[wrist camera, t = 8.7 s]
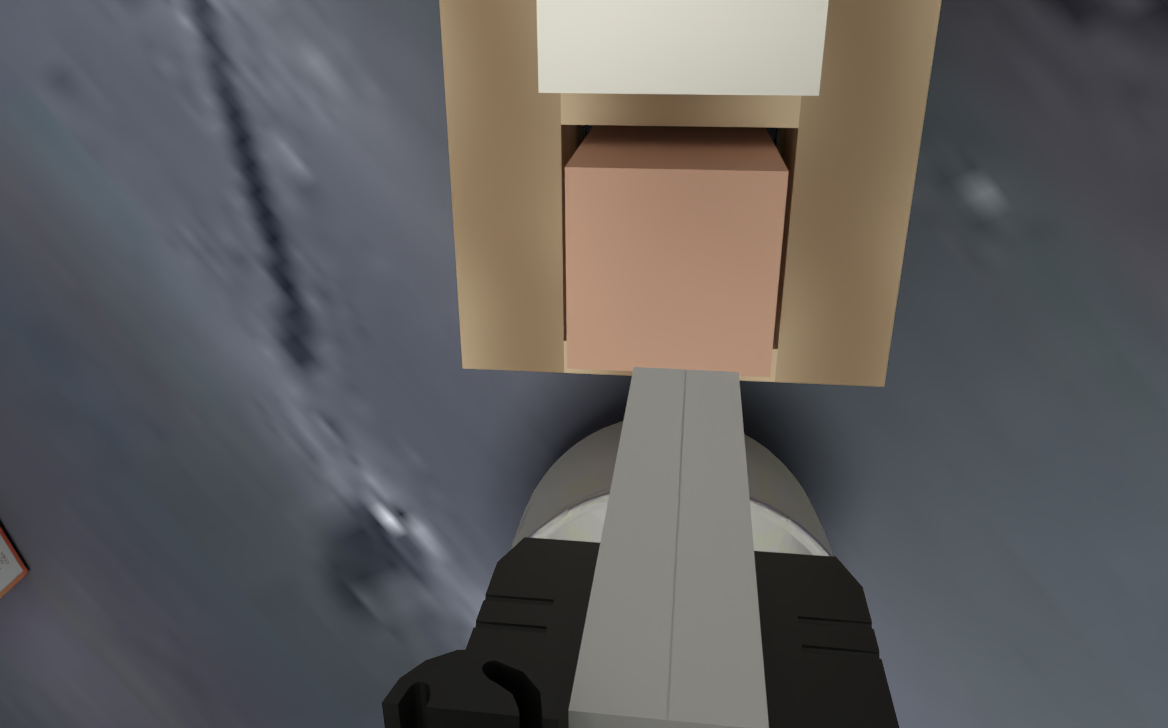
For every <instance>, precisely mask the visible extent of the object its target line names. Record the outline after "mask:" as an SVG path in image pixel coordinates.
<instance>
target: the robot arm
mask: <svg viewBox="0 0 1168 728" xmlns="http://www.w3.org/2000/svg"><path fill="white" fill-rule="evenodd" d="M871 624H872V621H871V618H870V614H869V610H868V606H867V602H866V598H865V594H864V591H863V587H862V586H861V585H860V584H859V583H858V582H857V580H856V579H855V578H854V577H853V576H852V575H851V573H850V572H849V571H848V570H847V569H846V568H845V567H844V565H843V564H842V563H841V562H840V561H839V560H838V559H837V557H833V556H819V555H805V554H791V553H778V552H764V551H754V546H753V534H752V522H751V510H750V498H749V487H748V475H747V463H746V451H745V440H744V428H743V416H742V404H741V392H740V381H739V372H727V371H707V370H686V369H666V368H645V367H634V368H633V373H632V379H631V384H630V389H629V394H628V400H627V405H626V410H625V415H624V421H623V426H622V431H621V436H620V442H619V447H618V452H617V457H616V463H615V468H614V473H613V479H612V484H611V489H610V494H609V500H608V505H607V510H606V515H605V521H604V526H603V531H602V536H601V542H600V543H598V542H585V541H571V540H557V539H544V538H530V537H524V538H523V539H522V540H521V541H520V542H519V543H518V544H517V545H516V546H514V547H513V548H512V549H511V550H510V551H509V552H508V553H507V554H506V555H505V556H504V557H503V558H502V559H501V560H500V561H498V562H497V565H496V568H495V570H494V573H493V576H492V579H491V581H490V584H489V587H488V590H487V592H486V599H485V600H484V601H483V603H482V606H481V609H480V612H479V614H478V617H477V620H476V627H475V628H473V631H472V634H471V637H470V639H469V642H468V645H467V648H466V650H456V651H453V652H450V653H447V654H444V655H441V656H438V657H435V658H432V659H429V660H426V661H424V662H423V663H421V664H420V665H418V666H417V667H416V668H414V669H413V670H411V671H410V672H408V673H407V674H405V675H404V676H402V677H401V678H400V679H399V680H398V681H397V683H396V684H395V685H394V687H393V688H392V690H391V691H390V692H389V694H388V695H387V696H386V698H385V699H384V701H383V702H382V707H383V715H384V723H385V728H899V725H898V721H897V717H896V713H895V710H894V706H893V702H892V698H891V694H890V690H889V687H888V683H887V679H886V675H885V671H884V667H883V664H882V660H881V659H879V648H878V644H877V641H876V637H875V633H874V629H872V626H871Z"/></svg>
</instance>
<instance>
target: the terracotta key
mask: <svg viewBox="0 0 1168 728" xmlns="http://www.w3.org/2000/svg"><path fill="white" fill-rule="evenodd" d="M788 174H789V171H788V169H787V167H786V165H785V163H784V161H783V160H782V158H781V156H780V154H779V152H778V150H777V148H776V146H775V144H774V142H773V140H772V138H771V136H770V135H769V133H768V131H767V129H766V127H697V126H626V125H594V126H593V127H592V128H591V130H590V131H589V133H588V134H587V136H586V137H585V139H584V140H583V142H582V143H581V144H580V146H579V147H578V149H577V150H576V152H575V153H574V155H573V156H572V157H571V159H570V160H569V162H568V163H567V165H566V166H565V231H566V321H567V368H568V369H592V370H615V371H633V368H634V367H645V368H666V369H686V370H707V371H727V372H739V376H753V377H770V372H771V361H772V350H773V339H774V328H775V317H776V306H777V295H778V284H779V273H780V262H781V251H782V240H783V229H784V218H785V207H786V196H787V185H788Z"/></svg>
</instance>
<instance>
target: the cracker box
mask: <svg viewBox="0 0 1168 728" xmlns="http://www.w3.org/2000/svg"><path fill="white" fill-rule="evenodd" d="M27 573H28V570H27V568H26V567H25V565H24V563H23V562H22V560H21V558H20V557H19V555H18V554H17V553H16V551H15V550H14V548H13V546H12V545H11V543H10V541H9V540H8V538H7V536H6V535H5V533H4V531H3V530H2V528H1V527H0V599H1V598H2V597H3V596H4V595H5V594H6V593H7V592H8V591H9V590H11V589H12V588H13V587H14V586H15V585H16V584H17V583H18V582H19V581H20V580H21V579H22V578H23V577H24V576H25V575H26V574H27Z"/></svg>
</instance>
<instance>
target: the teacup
mask: <svg viewBox="0 0 1168 728" xmlns="http://www.w3.org/2000/svg"><path fill="white" fill-rule="evenodd" d="M622 426H623V421H621V422H619V423H616V424H613V425H610V426H608V427H605V428H602V429H600V430H599V431H597V432H595V433H593V434H591V435H589V436H587V437H586V438H584V439H583V440H581V441H579V442H578V443H576V444H575V445H574V446H573V447H571V448H570V449H569V450H568V451H566V452H565V453H564V454H563V455H562V456H561V457H560V458H559V459H558V460H557V461H556V462H555V463H554V464H553V465H552V466H551V467H550V469H549V470H548V471H547V473H546V474H545V475H544V477H543V478H542V479H541V481H540V482H539V484H538V485H537V487H536V488H535V490H534V492H533V494H532V496H531V498H530V500H529V502H528V504H527V506H526V508H525V510H524V513H523V515H522V518H521V521H520V524H519V526H518V529H517V532H516V534H515V537H514V540H513V543H512V547H511V549H512V548H513V547H514V546H516V545H517V544H518V543H519V542H520V541H521V540H522V539H523V538H524V537H530V538H544V539H557V540H571V541H585V542H598V543H600V542H601V536H602V531H603V526H604V521H605V515H606V510H607V505H608V500H609V494H610V489H611V484H612V479H613V473H614V468H615V463H616V457H617V452H618V447H619V442H620V436H621V431H622ZM744 440H745V451H746V463H747V475H748V487H749V498H750V510H751V522H752V534H753V546H754V551H764V552H778V553H791V554H805V555H819V556H833V553H832V550H831V548H830V545H829V543H828V540H827V538H826V535H825V533H824V530H823V528H822V525H821V523H820V521H819V519H818V517H817V515H816V513H815V511H814V508H813V506H812V504H811V502H810V500H809V498H808V497H807V495H806V493H805V491H804V490H803V488H802V487H801V485H800V484H799V482H798V481H797V479H796V478H795V477H794V475H793V474H792V473H791V472H790V471H789V470H788V468H787V467H786V466H785V465H784V464H783V463H782V462H781V461H780V460H779V459H778V458H777V457H776V456H775V455H774V454H772V453H771V452H770V451H769V450H768V449H767V448H765V447H764V446H762V445H761V444H760V443H758V442H757V441H755V440H754V439H752V438H750V437H748V436H747V435H745V434H744ZM833 557H834V556H833Z"/></svg>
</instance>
